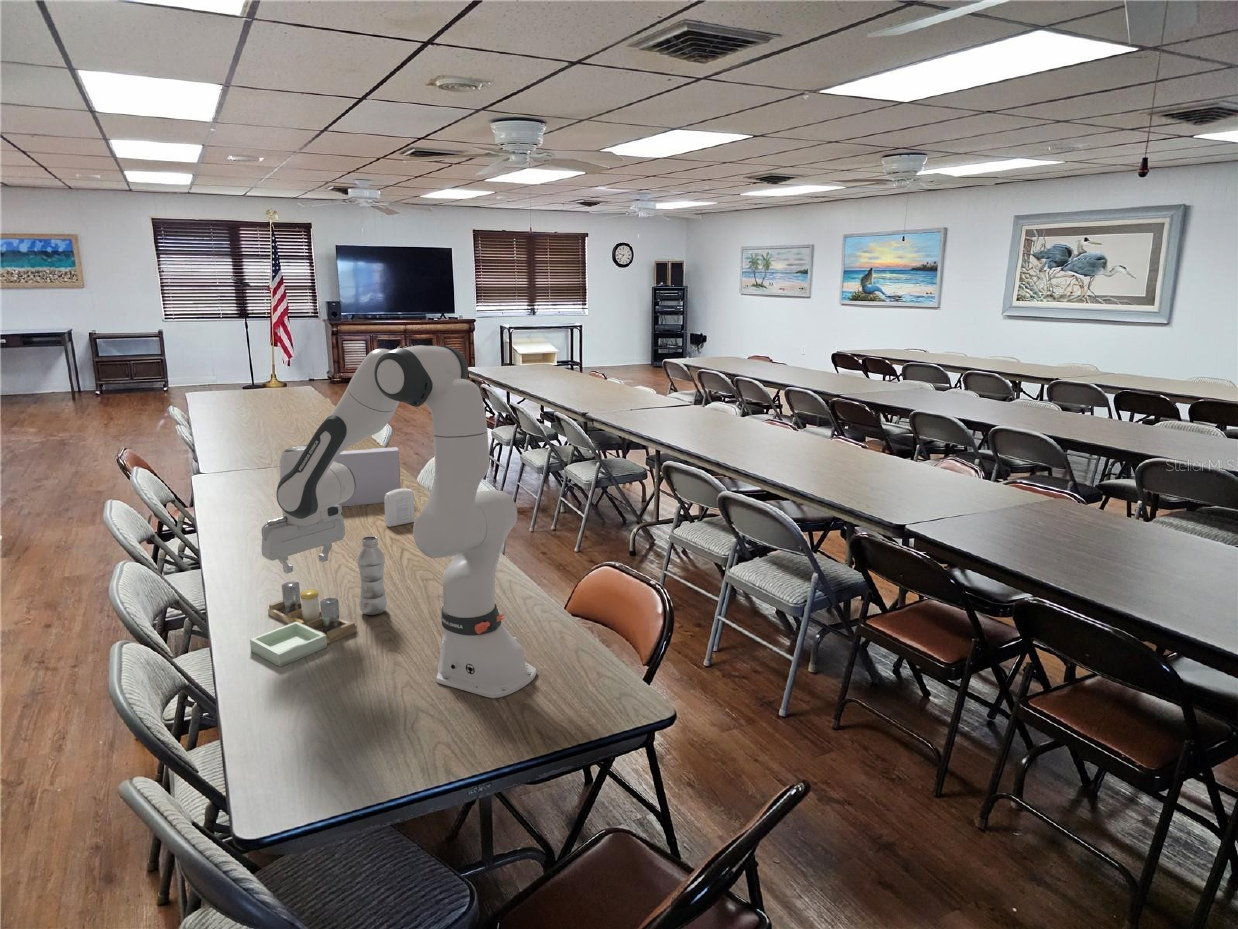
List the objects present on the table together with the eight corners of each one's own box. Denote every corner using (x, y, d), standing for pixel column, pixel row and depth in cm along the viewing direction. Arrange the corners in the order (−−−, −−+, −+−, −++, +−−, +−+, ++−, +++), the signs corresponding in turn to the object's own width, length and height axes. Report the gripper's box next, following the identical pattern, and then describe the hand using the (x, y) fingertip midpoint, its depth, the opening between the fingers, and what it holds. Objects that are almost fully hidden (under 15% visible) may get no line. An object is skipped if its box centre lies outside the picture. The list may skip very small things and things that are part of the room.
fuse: (324, 622, 187) (321, 592, 185) (309, 628, 184) (306, 597, 182) (314, 617, 189) (312, 588, 187) (299, 623, 186) (296, 593, 184)
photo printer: (410, 519, 266) (409, 485, 263) (416, 522, 263) (415, 488, 260) (383, 525, 259) (381, 490, 256) (389, 528, 256) (387, 493, 253)
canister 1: (304, 613, 191) (302, 584, 189) (290, 619, 188) (287, 589, 186) (295, 609, 193) (293, 580, 191) (281, 614, 190) (278, 585, 188)
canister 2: (343, 631, 182) (341, 600, 180) (329, 637, 179) (326, 606, 177) (333, 626, 185) (331, 596, 183) (319, 632, 181) (316, 601, 179)
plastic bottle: (359, 609, 195) (354, 535, 190) (386, 605, 197) (382, 533, 192) (360, 619, 189) (355, 544, 184) (388, 616, 191) (384, 541, 186)
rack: (356, 631, 182) (356, 622, 182) (328, 643, 176) (327, 633, 176) (296, 604, 196) (295, 595, 196) (268, 614, 190) (267, 605, 189)
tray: (326, 647, 175) (326, 635, 174) (280, 667, 165) (278, 654, 165) (297, 633, 181) (296, 621, 180) (250, 651, 172) (249, 639, 171)
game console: (323, 504, 280) (319, 451, 275) (398, 497, 291) (396, 446, 286) (324, 508, 275) (320, 455, 270) (401, 501, 286) (399, 450, 281)
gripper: (268, 526, 169) (273, 583, 173) (347, 505, 186) (350, 558, 189) (253, 519, 173) (258, 576, 176) (331, 500, 189) (334, 552, 193)
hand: (306, 566), depth 183 cm, fingers open, 8 cm apart
